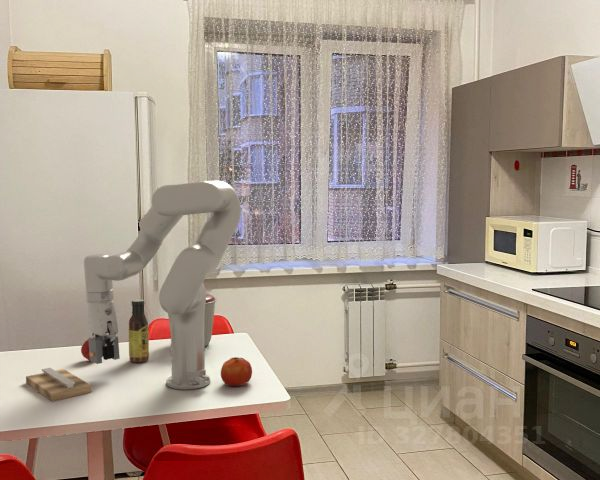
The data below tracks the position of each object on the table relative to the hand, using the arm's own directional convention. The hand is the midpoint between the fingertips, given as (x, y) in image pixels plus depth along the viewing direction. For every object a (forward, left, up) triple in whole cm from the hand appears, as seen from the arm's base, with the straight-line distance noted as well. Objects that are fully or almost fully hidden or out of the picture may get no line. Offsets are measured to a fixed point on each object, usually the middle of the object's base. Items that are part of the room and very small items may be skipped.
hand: (104, 356), depth 193 cm
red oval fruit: (+20, -4, -7) cm, 22 cm away
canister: (+15, -39, -7) cm, 43 cm away
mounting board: (+1, +14, -7) cm, 15 cm away
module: (0, 0, -1) cm, 1 cm away
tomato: (-30, -26, -7) cm, 41 cm away
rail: (+1, +14, -5) cm, 15 cm away
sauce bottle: (+10, -16, -7) cm, 20 cm away
